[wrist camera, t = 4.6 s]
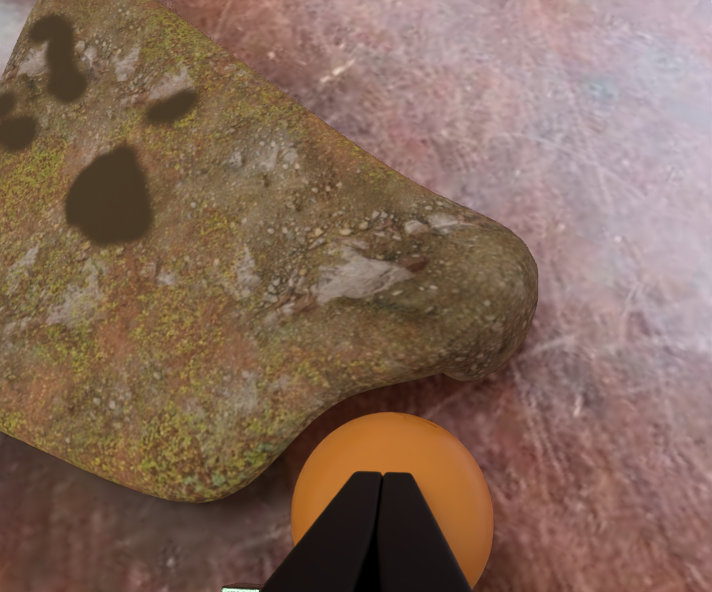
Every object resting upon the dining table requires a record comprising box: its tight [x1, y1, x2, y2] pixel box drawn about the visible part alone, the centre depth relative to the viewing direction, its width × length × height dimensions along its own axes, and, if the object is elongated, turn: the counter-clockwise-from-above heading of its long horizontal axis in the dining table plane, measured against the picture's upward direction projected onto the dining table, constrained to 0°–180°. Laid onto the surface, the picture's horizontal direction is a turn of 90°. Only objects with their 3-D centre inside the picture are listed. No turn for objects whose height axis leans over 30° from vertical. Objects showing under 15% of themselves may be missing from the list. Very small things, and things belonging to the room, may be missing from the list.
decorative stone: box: [0, 0, 538, 503], centre depth 20 cm, size 25×15×5 cm, turn 42°
